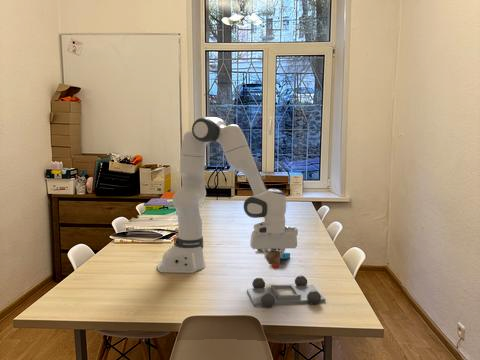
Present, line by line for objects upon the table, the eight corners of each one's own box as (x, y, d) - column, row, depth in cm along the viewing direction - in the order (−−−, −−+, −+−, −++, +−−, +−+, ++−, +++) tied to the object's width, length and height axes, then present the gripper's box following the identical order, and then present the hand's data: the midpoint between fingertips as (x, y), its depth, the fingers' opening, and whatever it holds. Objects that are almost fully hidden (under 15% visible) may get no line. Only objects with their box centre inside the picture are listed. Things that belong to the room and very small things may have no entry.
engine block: (269, 264, 180) (270, 251, 179) (266, 259, 186) (266, 246, 185) (279, 264, 181) (280, 251, 180) (276, 259, 187) (276, 246, 186)
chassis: (254, 308, 156) (255, 295, 155) (246, 289, 173) (246, 278, 172) (327, 303, 161) (327, 291, 160) (311, 286, 178) (312, 274, 177)
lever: (275, 265, 217) (267, 267, 200) (277, 251, 217) (268, 252, 201) (289, 267, 214) (281, 268, 198) (290, 253, 215) (282, 253, 198)
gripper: (295, 224, 186) (294, 255, 188) (250, 225, 182) (248, 256, 185) (300, 228, 180) (298, 259, 182) (253, 229, 176) (251, 260, 178)
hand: (273, 257), depth 183 cm, fingers closed on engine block, 4 cm apart
